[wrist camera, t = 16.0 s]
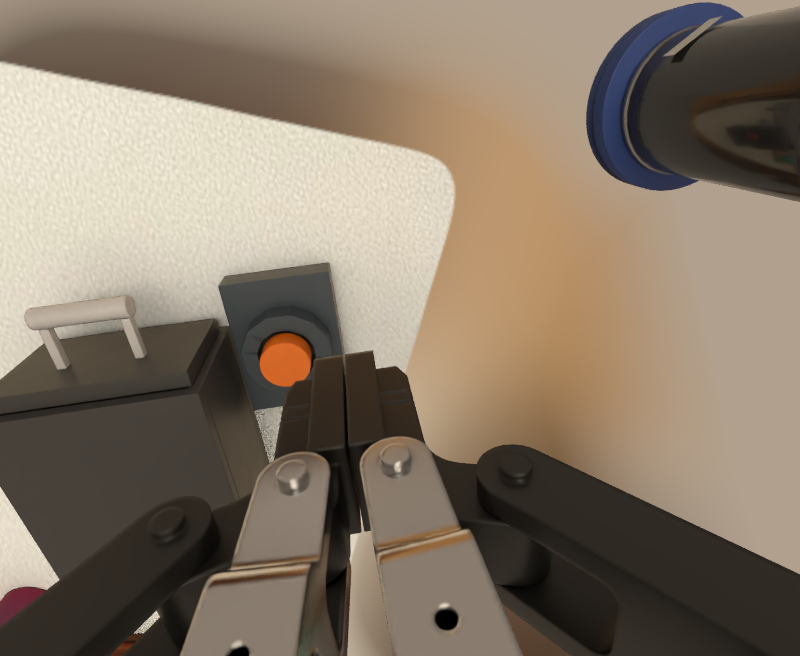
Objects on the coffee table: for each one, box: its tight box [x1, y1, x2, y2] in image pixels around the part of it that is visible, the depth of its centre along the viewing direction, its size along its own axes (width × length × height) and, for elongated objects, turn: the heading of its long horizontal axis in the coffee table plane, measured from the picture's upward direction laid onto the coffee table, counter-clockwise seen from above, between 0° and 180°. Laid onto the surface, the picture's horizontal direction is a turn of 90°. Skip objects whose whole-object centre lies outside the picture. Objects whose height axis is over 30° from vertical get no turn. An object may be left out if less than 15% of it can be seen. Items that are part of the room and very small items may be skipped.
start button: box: [259, 333, 312, 387], centre depth 34 cm, size 4×4×2 cm
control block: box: [218, 263, 345, 410], centre depth 37 cm, size 11×8×4 cm
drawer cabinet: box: [0, 326, 269, 579], centre depth 36 cm, size 15×14×10 cm
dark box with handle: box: [0, 295, 219, 414], centre depth 34 cm, size 18×12×8 cm
